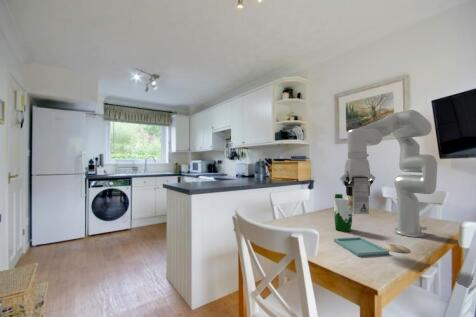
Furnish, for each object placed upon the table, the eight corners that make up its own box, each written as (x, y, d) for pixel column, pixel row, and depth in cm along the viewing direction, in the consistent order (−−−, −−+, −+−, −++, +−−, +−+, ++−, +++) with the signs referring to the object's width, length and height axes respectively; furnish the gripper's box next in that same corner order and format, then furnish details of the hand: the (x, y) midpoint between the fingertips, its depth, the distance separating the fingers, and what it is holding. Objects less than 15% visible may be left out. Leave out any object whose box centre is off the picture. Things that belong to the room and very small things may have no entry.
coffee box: (347, 209, 106) (347, 175, 106) (362, 210, 105) (361, 175, 105) (353, 214, 97) (353, 176, 97) (370, 214, 96) (369, 176, 96)
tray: (360, 239, 111) (360, 236, 111) (389, 254, 94) (389, 251, 94) (333, 241, 110) (333, 238, 110) (358, 256, 92) (358, 253, 92)
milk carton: (336, 226, 135) (335, 193, 135) (352, 228, 130) (352, 194, 130) (333, 230, 127) (333, 195, 128) (351, 232, 122) (350, 196, 123)
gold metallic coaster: (397, 244, 105) (396, 243, 105) (414, 252, 96) (414, 251, 96) (379, 245, 103) (379, 244, 103) (395, 253, 95) (395, 252, 95)
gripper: (368, 156, 106) (369, 193, 106) (334, 156, 104) (335, 194, 104) (381, 156, 99) (381, 196, 98) (344, 156, 96) (345, 197, 96)
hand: (358, 195), depth 101 cm, fingers closed on coffee box, 7 cm apart
